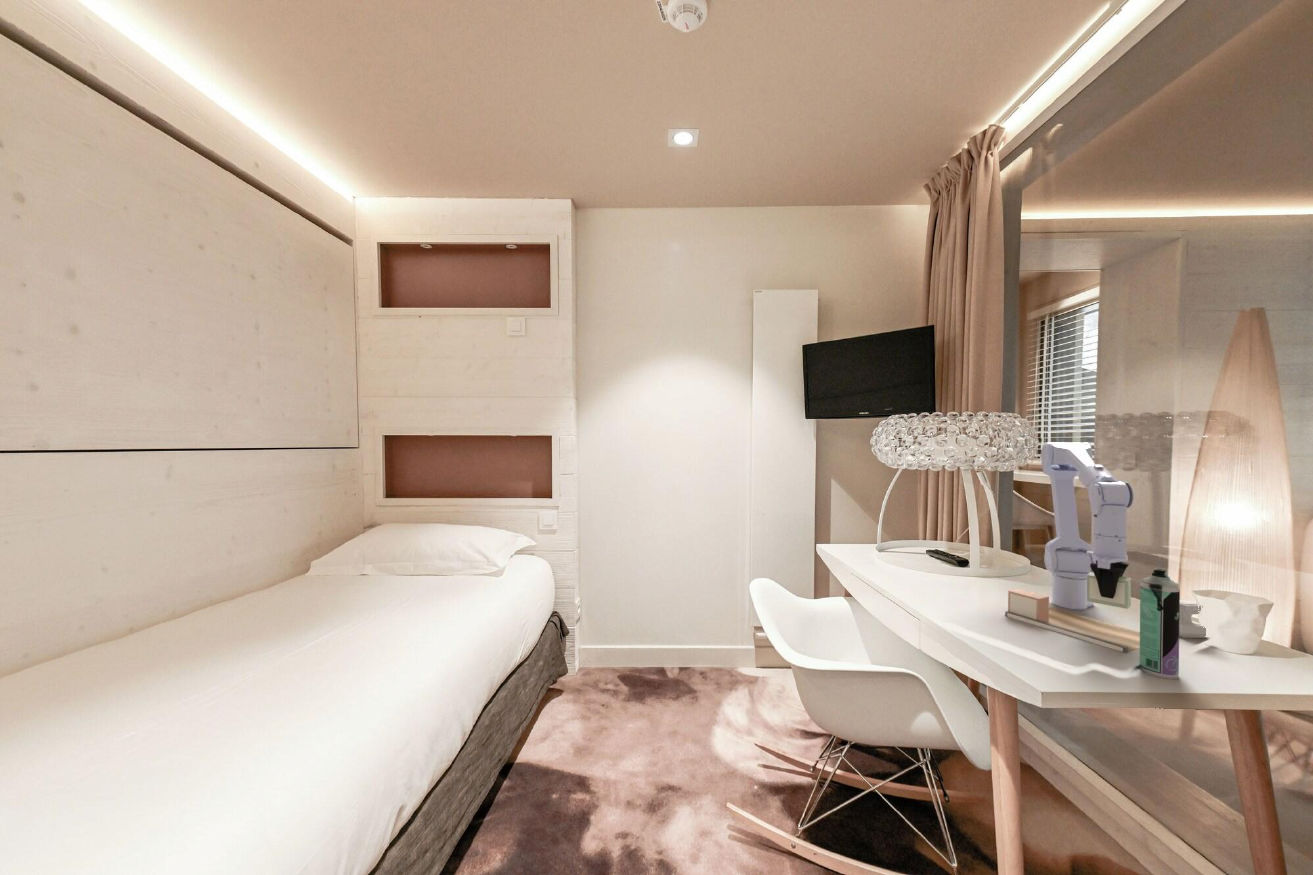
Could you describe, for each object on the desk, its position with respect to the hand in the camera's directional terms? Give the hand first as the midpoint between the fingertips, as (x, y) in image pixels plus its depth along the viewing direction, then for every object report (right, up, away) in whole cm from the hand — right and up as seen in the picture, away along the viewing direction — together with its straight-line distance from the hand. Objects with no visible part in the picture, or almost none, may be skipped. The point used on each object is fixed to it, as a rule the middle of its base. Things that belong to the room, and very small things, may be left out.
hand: (1109, 595), depth 117 cm
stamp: (+17, -10, 0) cm, 20 cm away
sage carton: (0, -2, 0) cm, 2 cm away
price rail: (-10, -10, +1) cm, 14 cm away
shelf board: (-3, -10, +4) cm, 11 cm away
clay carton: (-11, -9, +10) cm, 17 cm away
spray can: (-5, -10, -17) cm, 20 cm away
